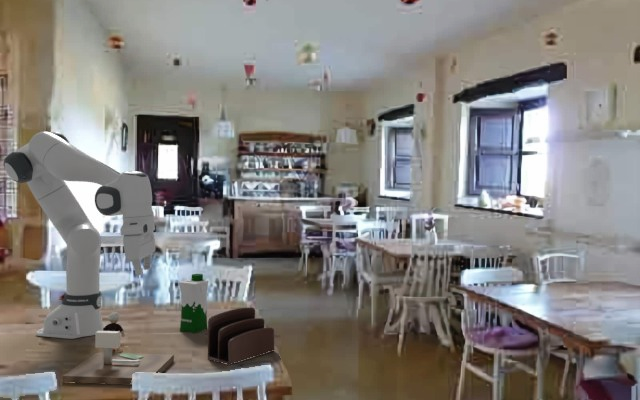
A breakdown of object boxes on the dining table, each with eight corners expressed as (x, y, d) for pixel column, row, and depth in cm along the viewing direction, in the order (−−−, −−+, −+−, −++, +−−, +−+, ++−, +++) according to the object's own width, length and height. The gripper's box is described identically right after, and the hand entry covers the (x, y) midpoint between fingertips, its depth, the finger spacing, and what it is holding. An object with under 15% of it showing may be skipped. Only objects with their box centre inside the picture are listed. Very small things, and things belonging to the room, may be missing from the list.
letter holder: (207, 359, 192) (207, 314, 191) (253, 346, 207) (253, 304, 206) (229, 366, 186) (229, 319, 185) (275, 351, 201) (275, 308, 200)
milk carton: (210, 328, 229) (210, 274, 228) (195, 334, 221) (195, 278, 220) (192, 325, 233) (192, 272, 232) (175, 331, 225) (175, 276, 224)
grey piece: (95, 364, 179) (95, 332, 178) (98, 361, 181) (98, 330, 181) (136, 365, 178) (136, 333, 177) (139, 362, 180) (139, 331, 180)
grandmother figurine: (127, 349, 201) (127, 310, 200) (124, 353, 197) (123, 313, 197) (103, 349, 201) (103, 310, 200) (99, 353, 197) (99, 313, 196)
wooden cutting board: (62, 383, 169) (62, 374, 169) (97, 358, 191) (97, 351, 191) (149, 385, 168) (149, 377, 168) (173, 361, 190) (173, 353, 189)
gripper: (138, 223, 194) (142, 266, 195) (118, 230, 174) (122, 279, 175) (158, 221, 194) (162, 265, 195) (140, 228, 174) (145, 277, 175)
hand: (143, 272), depth 185 cm, fingers open, 8 cm apart
